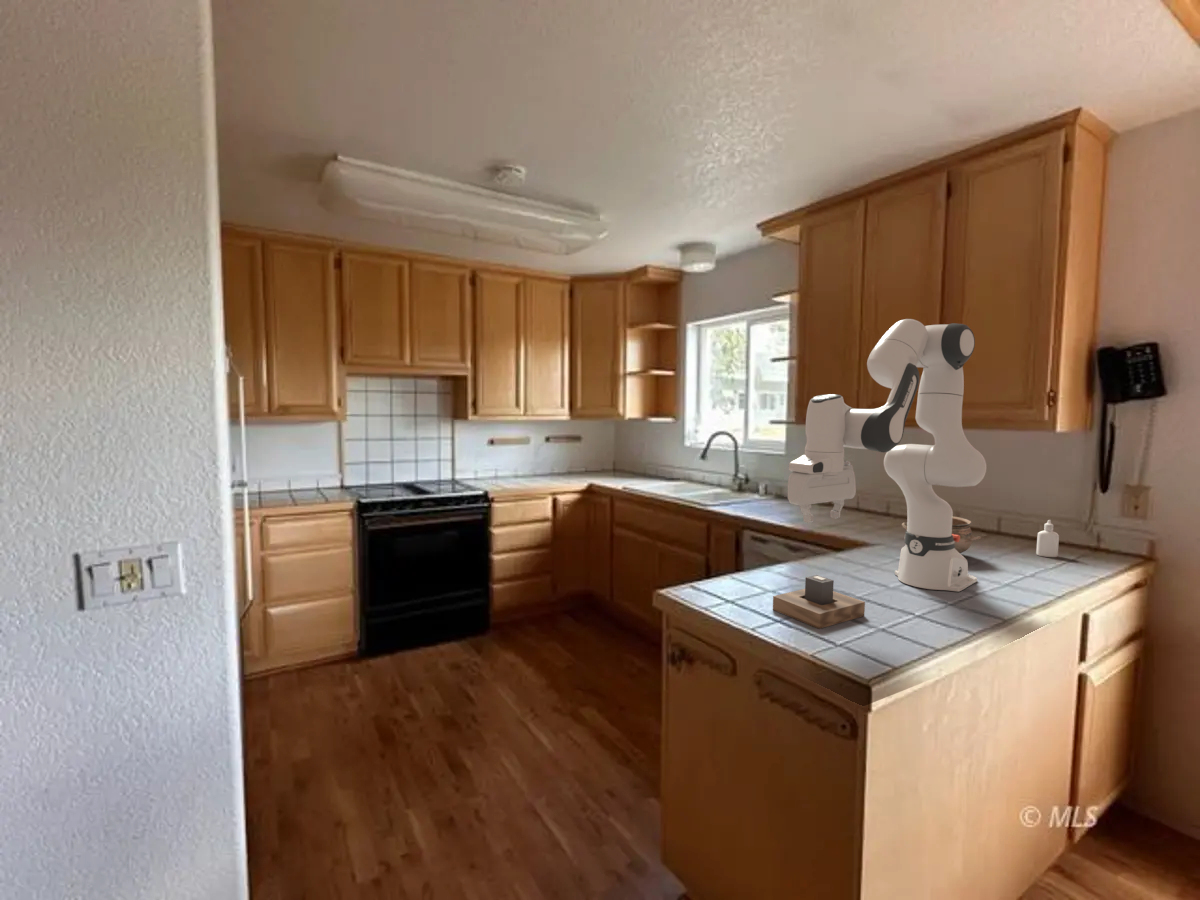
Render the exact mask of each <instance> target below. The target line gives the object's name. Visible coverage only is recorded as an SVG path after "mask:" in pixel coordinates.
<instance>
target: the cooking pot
mask: <svg viewBox="0 0 1200 900" xmlns="http://www.w3.org/2000/svg"><path fill="white" fill-rule="evenodd" d="M970 524H972V521H971V520H969V519H968V518H963V517H959V516H953V518H952V534H954V535H959V536H960V540H959V542H955V541H954V542H955V549H956V550H957V551H958V552H959V553H960V554H962V553H964V552H966V551H967V550H969V548H970V547H971V545H973V541H978V540H981V539H982V536H973V533H972V532H973V531H972V528H971V527H970ZM901 527H902V528H904V529H905V531H906V530H907V522H902V523H901Z"/></svg>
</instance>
